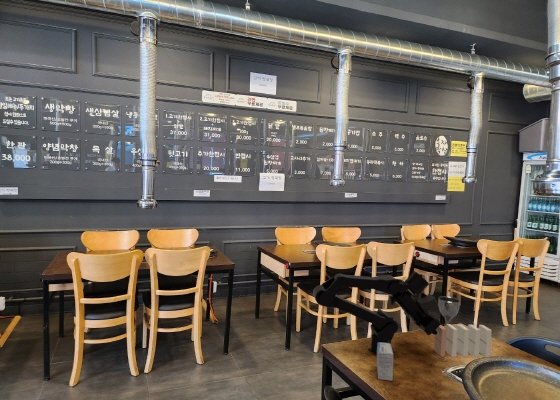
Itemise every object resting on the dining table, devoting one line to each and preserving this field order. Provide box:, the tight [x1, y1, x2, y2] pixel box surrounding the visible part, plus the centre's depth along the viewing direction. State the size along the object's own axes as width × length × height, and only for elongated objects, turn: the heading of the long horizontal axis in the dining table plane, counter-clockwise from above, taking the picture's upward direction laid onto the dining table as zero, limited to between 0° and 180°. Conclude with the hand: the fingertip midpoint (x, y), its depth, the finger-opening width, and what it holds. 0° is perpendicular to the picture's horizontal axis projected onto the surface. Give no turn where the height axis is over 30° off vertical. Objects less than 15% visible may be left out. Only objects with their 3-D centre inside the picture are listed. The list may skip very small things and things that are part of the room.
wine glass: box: [438, 295, 461, 324], centre depth 147 cm, size 8×8×15 cm
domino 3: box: [456, 323, 469, 358], centre depth 130 cm, size 2×5×10 cm, turn 3°
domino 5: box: [478, 324, 493, 357], centre depth 131 cm, size 2×5×10 cm, turn 3°
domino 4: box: [467, 324, 480, 358], centre depth 131 cm, size 2×5×10 cm, turn 3°
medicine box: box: [375, 342, 394, 382], centre depth 114 cm, size 8×4×9 cm, turn 168°
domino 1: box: [433, 324, 447, 357], centre depth 130 cm, size 2×5×10 cm, turn 3°
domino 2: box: [445, 323, 458, 358], centre depth 130 cm, size 2×5×10 cm, turn 3°
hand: (436, 333), depth 130 cm, fingers closed
